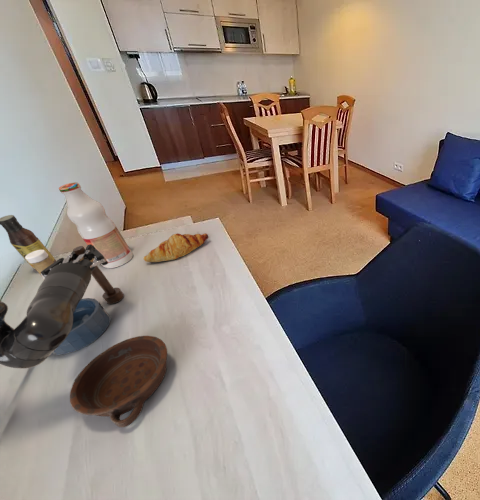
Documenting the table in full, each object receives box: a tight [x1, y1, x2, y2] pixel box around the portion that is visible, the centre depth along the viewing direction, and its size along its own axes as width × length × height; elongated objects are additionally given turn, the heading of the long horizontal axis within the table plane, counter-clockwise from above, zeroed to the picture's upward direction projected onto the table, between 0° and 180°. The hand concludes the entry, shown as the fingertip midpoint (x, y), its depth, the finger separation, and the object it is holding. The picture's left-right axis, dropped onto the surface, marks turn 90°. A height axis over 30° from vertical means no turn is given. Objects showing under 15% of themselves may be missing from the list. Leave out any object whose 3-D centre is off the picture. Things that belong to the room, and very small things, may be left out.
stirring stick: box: [72, 245, 125, 305], centre depth 83 cm, size 4×4×18 cm
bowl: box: [51, 297, 111, 356], centre depth 76 cm, size 14×14×6 cm
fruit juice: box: [58, 181, 134, 269], centre depth 97 cm, size 9×9×28 cm
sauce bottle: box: [0, 214, 57, 271], centre depth 100 cm, size 6×6×20 cm
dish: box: [69, 335, 168, 428], centre depth 63 cm, size 18×22×5 cm
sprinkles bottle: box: [24, 250, 54, 280], centre depth 91 cm, size 5×5×13 cm
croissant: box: [143, 232, 209, 263], centre depth 104 cm, size 21×10×8 cm, turn 125°
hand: (85, 249), depth 81 cm, fingers closed on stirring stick, 2 cm apart
